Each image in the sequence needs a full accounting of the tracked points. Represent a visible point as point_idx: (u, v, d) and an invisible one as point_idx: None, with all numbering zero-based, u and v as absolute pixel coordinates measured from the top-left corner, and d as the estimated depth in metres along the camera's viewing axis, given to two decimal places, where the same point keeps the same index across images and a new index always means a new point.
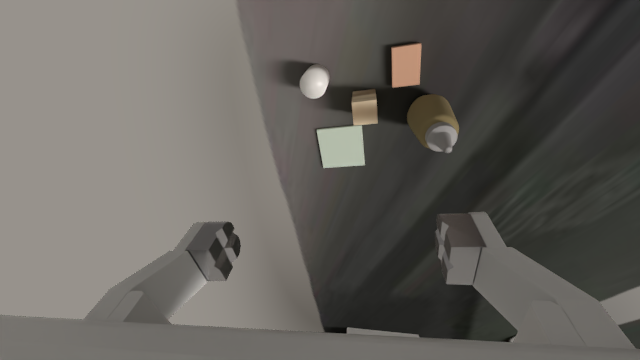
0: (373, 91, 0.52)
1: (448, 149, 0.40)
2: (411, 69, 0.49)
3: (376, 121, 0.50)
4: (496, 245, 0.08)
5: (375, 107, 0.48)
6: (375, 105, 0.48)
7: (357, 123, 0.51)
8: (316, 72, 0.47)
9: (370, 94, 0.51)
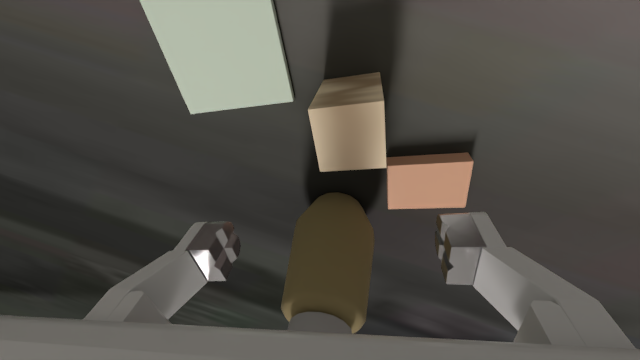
0: None
1: None
2: (419, 196, 0.25)
3: (324, 169, 0.18)
4: (496, 245, 0.08)
5: (364, 166, 0.18)
6: (370, 165, 0.18)
7: (315, 120, 0.16)
8: None
9: None
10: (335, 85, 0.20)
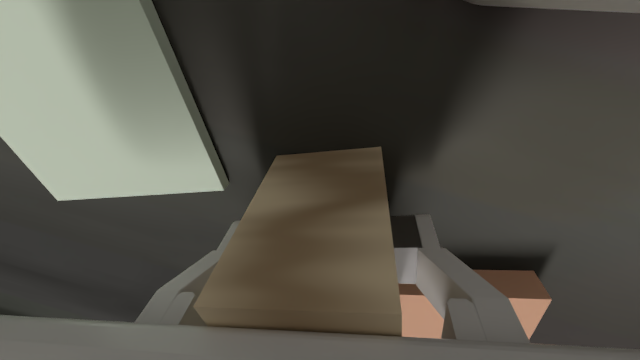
0: None
1: None
2: None
3: None
4: (431, 246, 0.08)
5: None
6: None
7: (219, 324, 0.06)
8: None
9: None
10: (291, 183, 0.10)
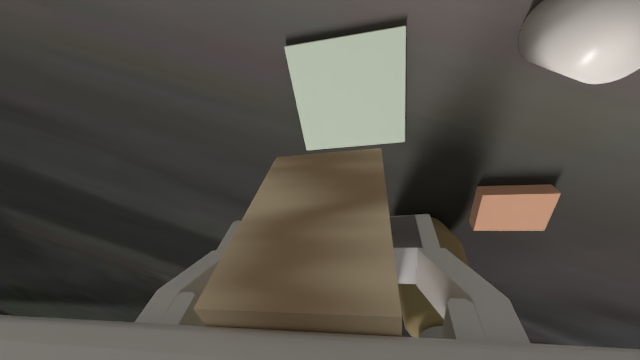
0: None
1: None
2: (505, 220, 0.29)
3: None
4: (431, 246, 0.08)
5: None
6: None
7: (219, 326, 0.06)
8: None
9: None
10: (291, 184, 0.10)
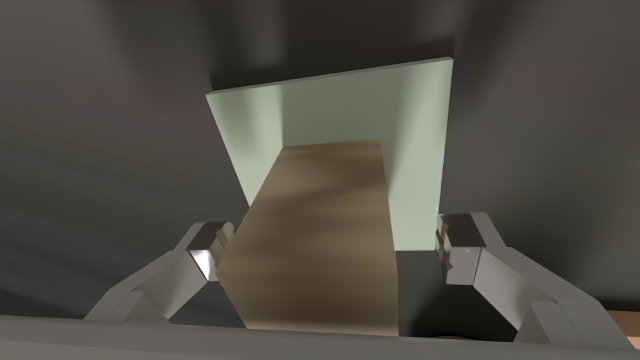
0: None
1: None
2: None
3: None
4: (496, 245, 0.08)
5: None
6: None
7: (236, 290, 0.07)
8: None
9: None
10: (297, 170, 0.10)
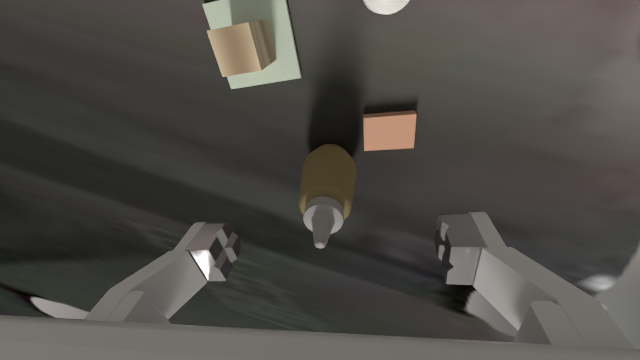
0: (272, 58, 0.33)
1: (320, 244, 0.27)
2: (384, 140, 0.38)
3: (225, 74, 0.29)
4: (496, 245, 0.08)
5: (248, 70, 0.28)
6: (251, 69, 0.28)
7: (212, 38, 0.27)
8: None
9: (267, 55, 0.31)
10: None
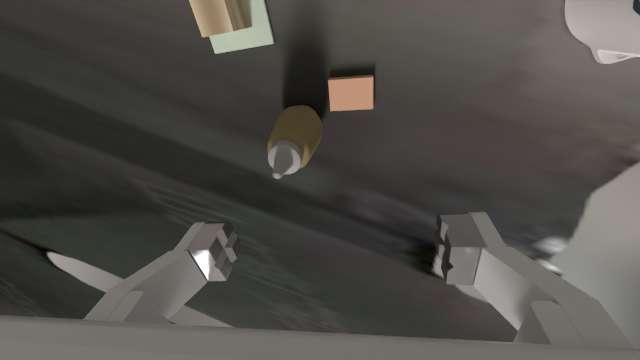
0: (247, 24, 0.38)
1: (277, 175, 0.33)
2: (347, 101, 0.43)
3: (204, 35, 0.35)
4: (496, 245, 0.08)
5: (222, 31, 0.34)
6: (225, 30, 0.34)
7: (192, 2, 0.33)
8: None
9: (241, 20, 0.36)
10: None
